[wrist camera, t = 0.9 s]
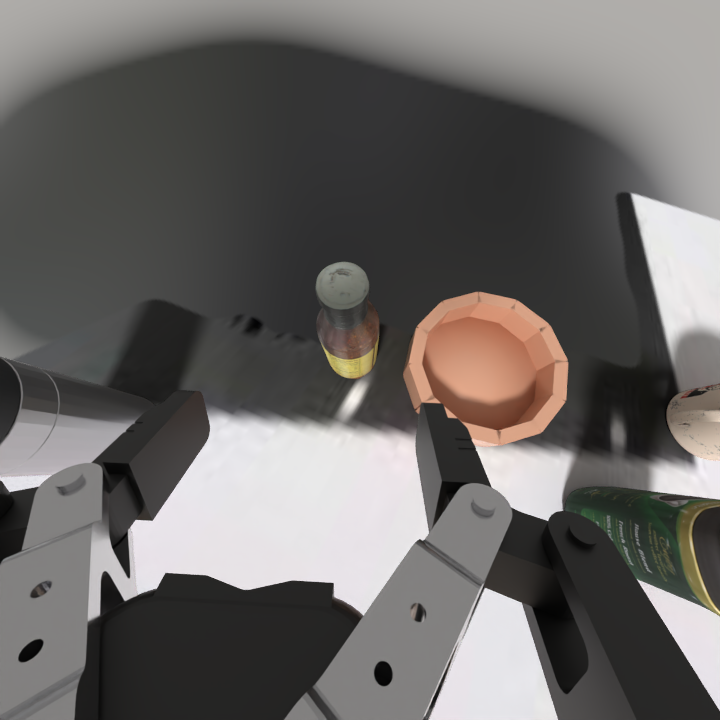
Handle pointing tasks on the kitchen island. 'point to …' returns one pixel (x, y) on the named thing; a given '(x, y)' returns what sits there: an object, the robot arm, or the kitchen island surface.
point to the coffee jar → (660, 537)
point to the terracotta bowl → (488, 367)
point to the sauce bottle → (347, 319)
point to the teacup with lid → (697, 421)
